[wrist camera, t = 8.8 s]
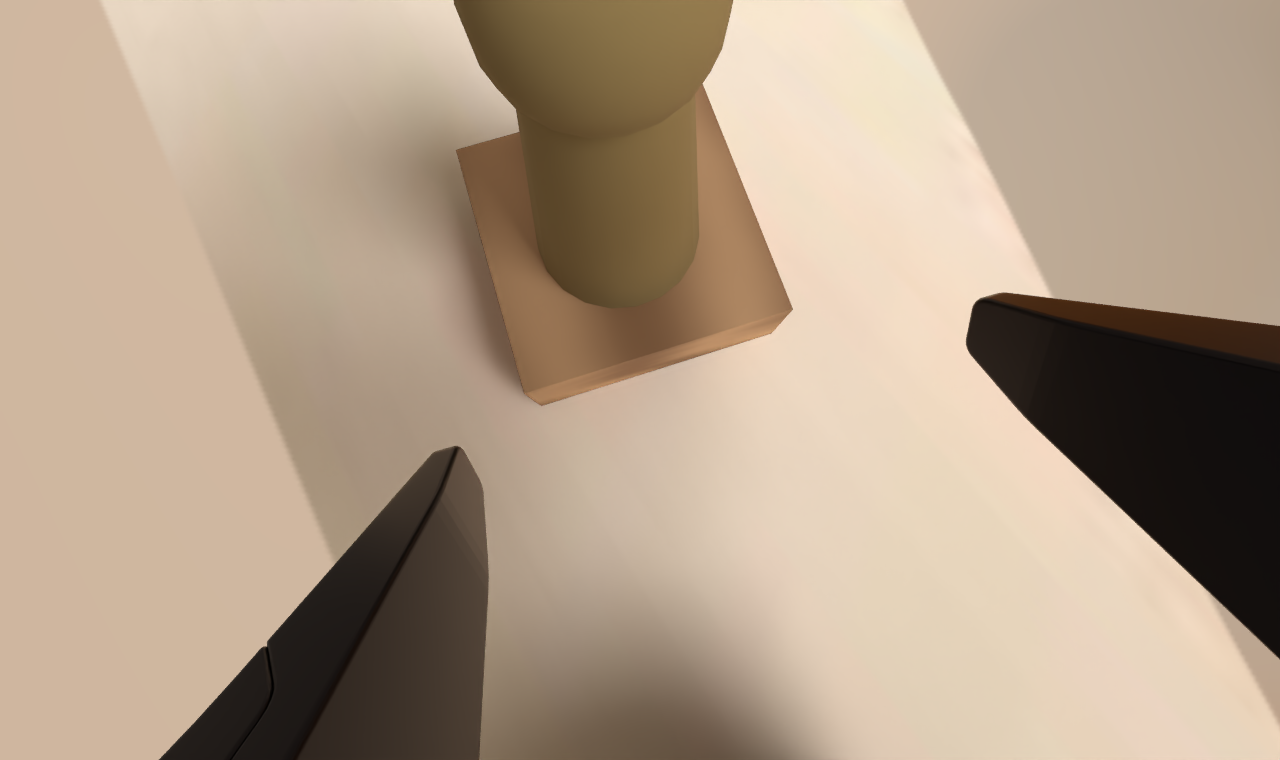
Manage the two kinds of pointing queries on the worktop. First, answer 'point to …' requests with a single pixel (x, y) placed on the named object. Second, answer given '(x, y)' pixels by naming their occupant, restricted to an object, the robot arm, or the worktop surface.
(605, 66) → the cork
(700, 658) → the worktop surface
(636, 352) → the base block
